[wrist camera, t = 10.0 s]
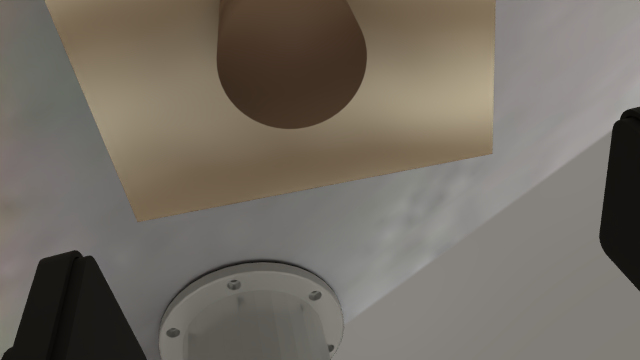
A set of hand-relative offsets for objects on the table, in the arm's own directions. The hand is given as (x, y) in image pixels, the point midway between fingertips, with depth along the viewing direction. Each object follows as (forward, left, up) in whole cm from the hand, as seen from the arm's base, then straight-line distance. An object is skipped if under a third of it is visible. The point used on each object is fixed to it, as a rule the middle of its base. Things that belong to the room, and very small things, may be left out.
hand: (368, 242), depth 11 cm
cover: (+1, 0, -12) cm, 12 cm away
